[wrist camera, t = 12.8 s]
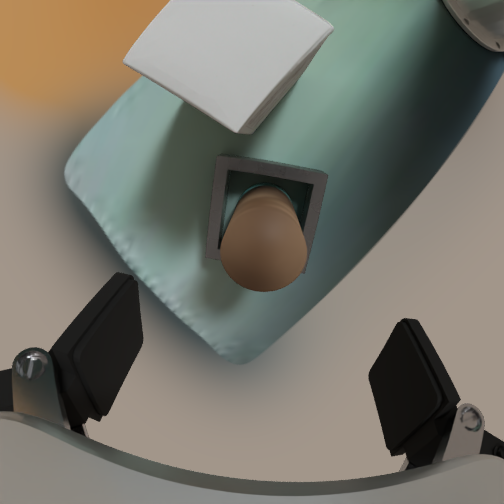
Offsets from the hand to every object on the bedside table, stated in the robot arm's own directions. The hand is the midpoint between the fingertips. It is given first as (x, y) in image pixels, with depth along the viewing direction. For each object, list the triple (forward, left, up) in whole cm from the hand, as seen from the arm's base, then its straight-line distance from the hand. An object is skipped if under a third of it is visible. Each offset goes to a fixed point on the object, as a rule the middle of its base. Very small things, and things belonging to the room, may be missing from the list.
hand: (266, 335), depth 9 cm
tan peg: (0, 0, -17) cm, 17 cm away
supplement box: (+4, -11, -18) cm, 21 cm away
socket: (0, 0, -17) cm, 17 cm away
